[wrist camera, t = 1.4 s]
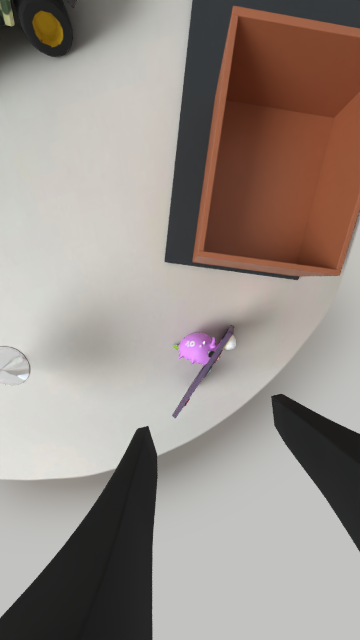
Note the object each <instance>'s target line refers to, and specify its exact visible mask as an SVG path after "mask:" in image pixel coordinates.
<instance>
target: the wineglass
mask: <svg viewBox="0 0 360 640" xmlns="http://www.w3.org/2000/svg"><path fill="white" fill-rule="evenodd" d="M28 375H29V364H28V361H27V360H26V358H25V357H24V355H23V354H21V353H20V352H19V351H18V350H15V349H13V348H11V347H5V346H3V347H0V383H3V384H5V385H11V386H13V385H19V384H21V383H23V382H24V381H25V380H26V379H27V378H28Z"/></svg>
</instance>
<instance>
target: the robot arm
mask: <svg viewBox="0 0 360 640" xmlns="http://www.w3.org/2000/svg"><path fill="white" fill-rule="evenodd" d="M271 398H272V407H273V415H274V425H275V427H276V429H277V431H278V432H279V434H280V436H281V437H282V439H283V441H284V442H285V444H286V445H287V447H288V448H289V449H290V450H291V452H292V453H293V455H294V456H295V457H296V459H297V460H298V462H299V463H300V464H301V465H302V467H303V468H304V469H305V471H306V472H307V473H308V475H309V476H310V477H311V479H312V480H313V481H314V483H315V484H316V485H317V487H318V488H319V489H320V491H321V492H322V494H323V495H324V497H325V498H326V499H327V501H328V502H329V504H330V505H331V507H332V508H333V510H334V511H335V513H336V515H337V516H338V518H339V519H340V521H341V523H342V524H343V526H344V527H345V529H346V530H347V532H348V534H349V535H350V537H351V538H352V540H353V542H354V543H355V545H356V546H357V548H358V550H359V551H360V434H359V433H356V432H354V431H352V430H350V429H348V428H346V427H344V426H341V425H339V424H337V423H335V422H333V421H331V420H329V419H327V418H325V417H323V416H321V415H319V414H318V413H316V412H314V411H312V410H310V409H308V408H306V407H305V406H303V405H301V404H299V403H297V402H296V401H294V400H292V399H290V398H289V397H287V396H285V395H283V394H279V395H274V396H272V397H271ZM156 489H157V453H156V450H155V446H154V443H153V440H152V437H151V433H150V430H149V427H148V426H146V427H142V428H138V429H137V430H136V432H135V434H134V436H133V438H132V440H131V442H130V444H129V446H128V448H127V450H126V452H125V454H124V456H123V458H122V459H121V461H120V463H119V465H118V467H117V468H116V470H115V472H114V474H113V475H112V477H111V479H110V480H109V482H108V484H107V485H106V487H105V489H104V490H103V492H102V493H101V495H100V496H99V498H98V500H97V501H96V502H95V504H94V506H93V507H92V508H91V510H90V511H89V513H88V514H87V515H86V517H85V518H84V520H83V521H82V522H81V524H80V525H79V526H78V528H77V529H76V531H74V533H73V534H72V535H71V537H70V538H69V539H68V541H67V542H66V544H65V545H64V546H63V547H62V548H61V550H60V551H59V552H58V553H57V554H56V556H55V557H54V558H53V559H52V560H51V562H50V563H49V564H48V565H47V566H46V568H45V569H44V570H43V571H42V572H41V573H40V575H39V576H38V577H37V578H36V579H35V580H34V582H33V583H32V584H31V585H30V586H29V587H28V588H27V589H26V590H25V592H24V593H23V594H22V595H21V596H20V597H19V598H18V599H17V600H16V602H15V603H14V604H13V605H12V606H11V607H10V608H9V609H8V610H7V611H6V612H5V613H4V615H3V616H2V617H1V618H0V640H152V544H153V527H154V515H155V502H156Z"/></svg>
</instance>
